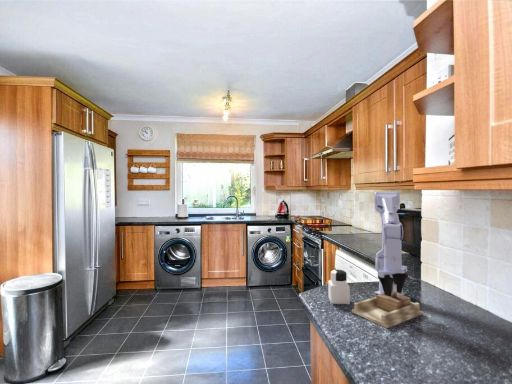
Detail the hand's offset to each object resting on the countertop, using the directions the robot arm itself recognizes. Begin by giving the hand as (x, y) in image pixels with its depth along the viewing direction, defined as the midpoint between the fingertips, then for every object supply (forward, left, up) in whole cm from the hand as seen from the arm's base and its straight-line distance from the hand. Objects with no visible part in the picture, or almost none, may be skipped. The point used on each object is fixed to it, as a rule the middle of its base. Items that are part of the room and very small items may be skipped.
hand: (393, 293), depth 101 cm
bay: (+4, 0, -6) cm, 7 cm away
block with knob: (0, 0, -5) cm, 5 cm away
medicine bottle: (+10, -17, -6) cm, 21 cm away
